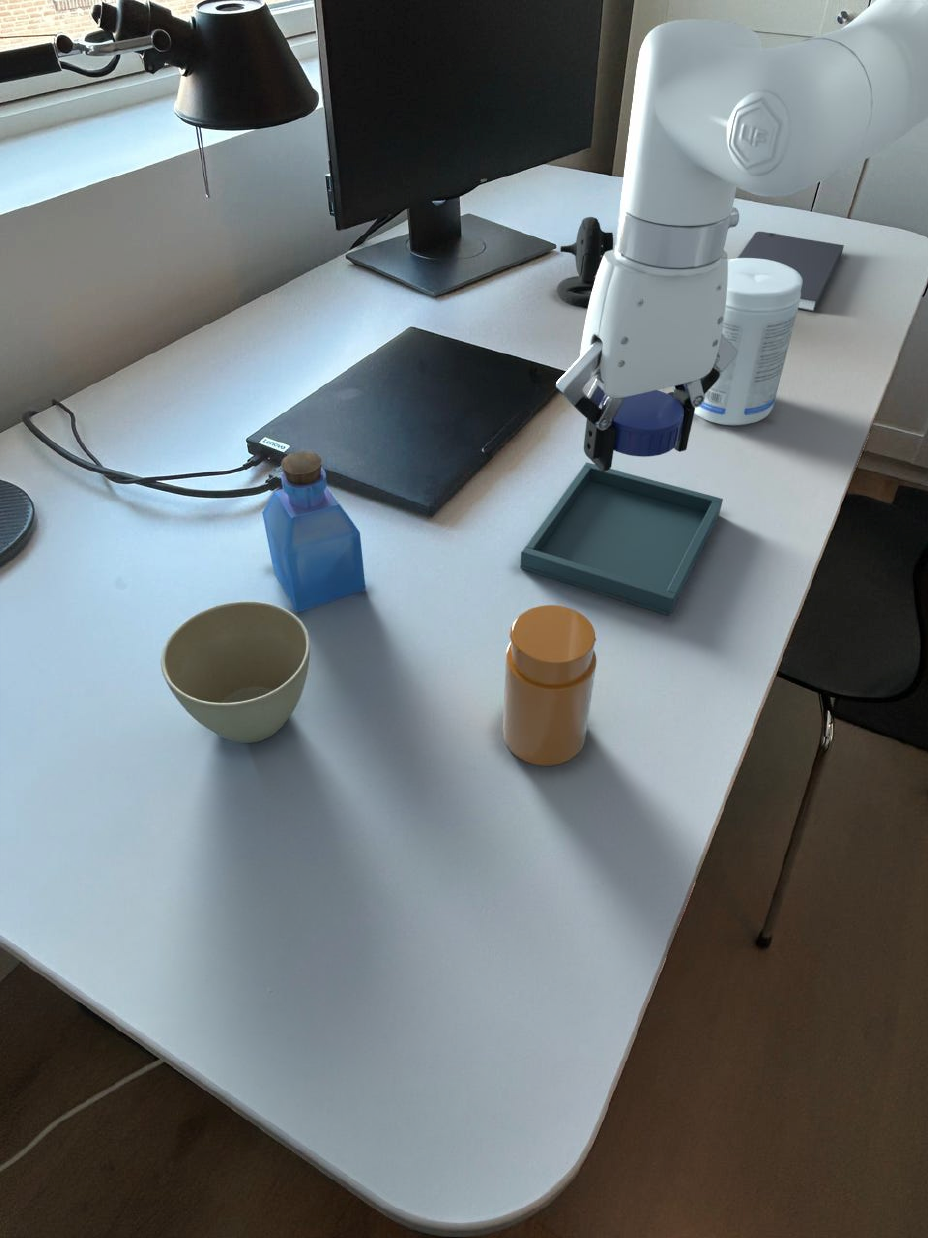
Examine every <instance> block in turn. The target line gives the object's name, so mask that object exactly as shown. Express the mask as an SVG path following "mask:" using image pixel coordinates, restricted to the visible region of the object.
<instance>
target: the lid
mask: <svg viewBox="0 0 928 1238" xmlns="http://www.w3.org/2000/svg"><path fill="white" fill-rule="evenodd" d="M667 393H668V392H667ZM667 393H666V392H664V391H661V390H655V391H650V392H646V393H641V394H637V395H633V396H628V397H625V399H624V401H623V403H622V405H621V407H620V408H619V410H618V412H617V414H616V416H615V418H614V419H613V421H612V423H611V425H612V426H613V427H614V428H615V429H616V437H615V444H614V451H615V452H617V453H620V454H622V455H627V456H631V457H641V458H646V457H656V456H660V455H664V454H666V453H669V452H670V451H672V450H673V449H674V447H675V446H676V445H677V443H678V442H679V439H680V434H681V430H682V425H683V419H684V417H683V416H684V409H683V407H682V405H681V403H680V402H679V401H678V400H677V399H675V398H674V397H672V396H671V395H669V394H667ZM607 397H608V396H606V395H605V396H604V398H603V400H602V402H601V404H600V407H599V408H600V409H602V407H603V405H604V403H605V401H606V399H607Z"/></svg>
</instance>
